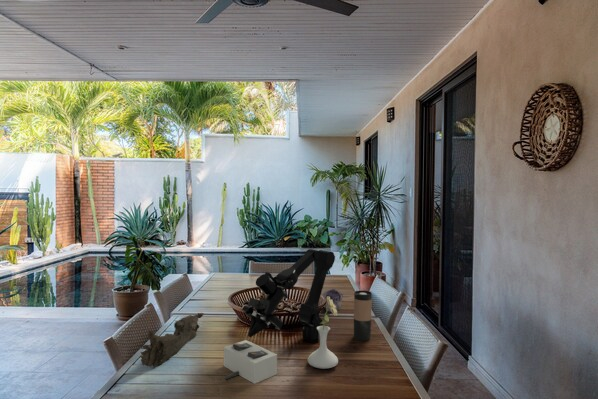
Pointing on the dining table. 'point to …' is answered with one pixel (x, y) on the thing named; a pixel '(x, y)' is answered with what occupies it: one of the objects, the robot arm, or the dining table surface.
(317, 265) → the robot arm
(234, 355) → the box
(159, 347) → the driftwood
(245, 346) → the rocker
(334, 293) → the geode
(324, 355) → the flower in vase
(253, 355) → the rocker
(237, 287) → the dining table surface
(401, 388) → the dining table surface
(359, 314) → the travel mug
